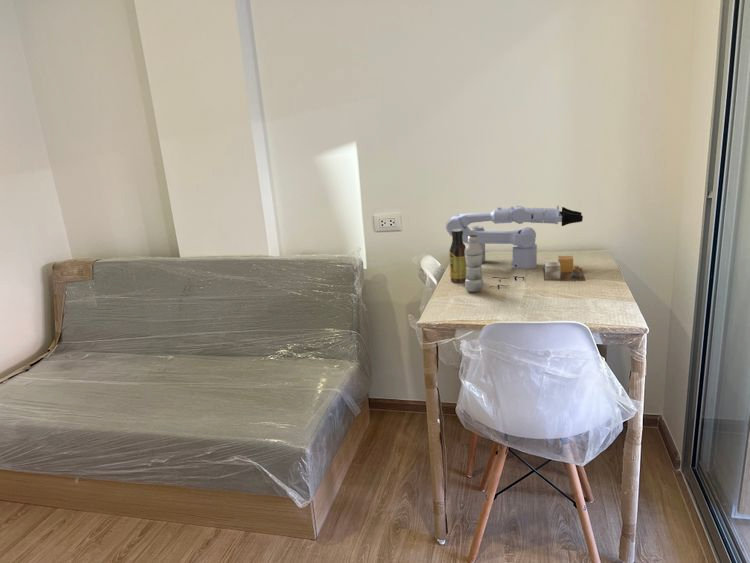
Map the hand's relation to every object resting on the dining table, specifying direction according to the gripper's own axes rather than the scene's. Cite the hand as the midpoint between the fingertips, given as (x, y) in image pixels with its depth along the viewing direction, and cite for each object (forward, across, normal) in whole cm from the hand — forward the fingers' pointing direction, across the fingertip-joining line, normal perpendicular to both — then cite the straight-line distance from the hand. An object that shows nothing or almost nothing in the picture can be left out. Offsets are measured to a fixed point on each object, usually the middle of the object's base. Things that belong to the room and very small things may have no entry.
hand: (581, 217), depth 201 cm
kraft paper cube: (-4, -5, +20) cm, 21 cm away
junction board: (-5, -10, +21) cm, 24 cm away
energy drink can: (-39, +10, +22) cm, 46 cm away
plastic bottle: (-36, -29, +24) cm, 51 cm away
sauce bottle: (-43, -17, +24) cm, 52 cm away
